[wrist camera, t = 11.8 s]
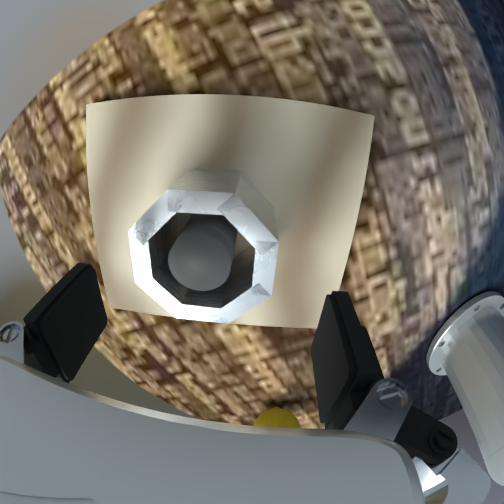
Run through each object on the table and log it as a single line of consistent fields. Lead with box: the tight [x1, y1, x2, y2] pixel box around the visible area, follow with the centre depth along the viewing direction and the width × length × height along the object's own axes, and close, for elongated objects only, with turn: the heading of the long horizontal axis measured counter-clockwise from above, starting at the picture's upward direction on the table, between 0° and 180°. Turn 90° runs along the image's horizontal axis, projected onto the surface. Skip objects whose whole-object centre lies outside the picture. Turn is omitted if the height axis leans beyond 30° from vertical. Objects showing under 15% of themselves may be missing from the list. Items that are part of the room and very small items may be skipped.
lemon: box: [253, 406, 300, 428], centre depth 26 cm, size 6×6×8 cm
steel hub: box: [128, 168, 279, 324], centre depth 15 cm, size 7×7×5 cm
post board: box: [86, 94, 375, 328], centre depth 16 cm, size 18×16×6 cm
